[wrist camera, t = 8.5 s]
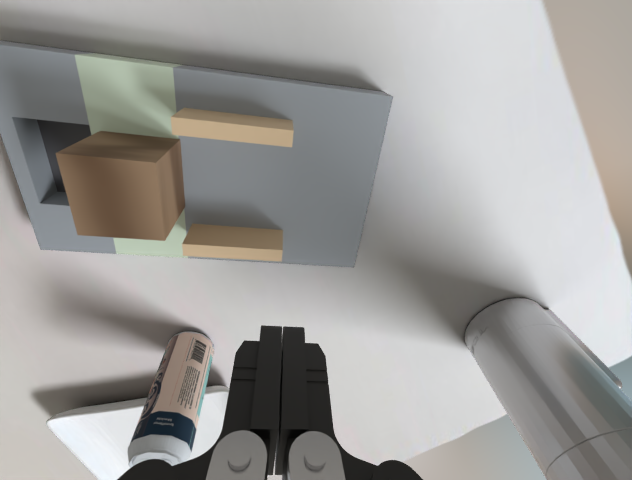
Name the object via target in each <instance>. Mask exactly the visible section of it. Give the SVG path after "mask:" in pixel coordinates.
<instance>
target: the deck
mask: <svg viewBox="0 0 632 480" xmlns="http://www.w3.org/2000/svg"><path fill="white" fill-rule="evenodd" d="M392 99H393V96H391V95H389V94H387V93H385V92H382V91H375V90H367V89H360V88H352V87H345V86H337V85H330V84H322V83H315V82H308V81H300V80H293V79H285V78H278V77H270V76H263V75H255V74H248V73H240V72H233V71H225V70H218V69H210V68H203V67H195V66H188V65H180V64H173V63H165V62H158V61H150V60H143V59H135V58H128V57H120V56H113V55H105V54H98V53H90V52H83V51H75V50H68V49H60V48H53V47H45V46H38V45H30V44H23V43H15V42H8V41H1V40H0V134H1V137H2V140H3V143H4V146H5V148H6V151H7V154H8V157H9V160H10V163H11V166H12V169H13V172H14V174H15V177H16V180H17V183H18V186H19V189H20V192H21V195H22V197H23V200H24V203H25V206H26V209H27V212H28V215H29V218H30V220H31V223H32V226H33V229H34V232H35V235H36V238H37V241H38V244H39V246H40V249H41V250H58V251H75V252H93V253H110V254H128V255H145V256H163V257H181V258H198V259H216V260H233V261H251V262H268V263H286V264H303V265H321V266H339V267H354V265H355V261H356V257H357V252H358V248H359V243H360V239H361V235H362V230H363V226H364V221H365V217H366V213H367V208H368V204H369V200H370V195H371V191H372V186H373V182H374V178H375V173H376V169H377V165H378V160H379V156H380V151H381V147H382V143H383V138H384V134H385V129H386V125H387V121H388V116H389V112H390V108H391V103H392ZM99 131H107V132H116V133H126V134H135V135H145V136H154V137H163V138H173V139H180V142H181V155H182V168H183V182H184V195H185V208H184V210H183V211H182V213H181V215H180V216H179V218H178V220H177V221H176V223H175V225H174V227H173V228H172V230H171V232H170V233H169V235H168V237H167V238H166V240H165V241H158V240H143V239H128V238H113V237H97V236H82V235H77V231H76V228H75V224H74V220H73V216H72V213H71V209H70V205H69V202H68V198H67V194H66V190H65V187H64V183H63V179H62V176H61V172H60V168H59V165H58V161H57V157H56V153H57V152H59V151H61V150H63V149H65V148H67V147H69V146H71V145H73V144H75V143H77V142H79V141H81V140H83V139H85V138H87V137H89V136H91V135H93V134H95V133H97V132H99Z"/></svg>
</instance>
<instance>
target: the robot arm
mask: <svg viewBox="0 0 632 480" xmlns="http://www.w3.org/2000/svg"><path fill="white" fill-rule="evenodd" d="M281 341H282V343H281ZM465 343H466V345H467V347H468V348H469V350H470V352H471V353H472V355H473V357H474V358H475V360H476V362H477V363H478V365H479V367H480V369H481V370H482V372H483V374H484V376H485V377H486V379H487V381H488V382H489V384H490V386H491V387H492V389H493V391H494V392H495V394H496V396H497V397H498V399H499V401H500V402H501V404H502V406H503V407H504V409H505V411H506V412H507V414H508V416H509V417H510V419H511V421H512V422H513V424H514V426H515V427H516V429H517V431H518V432H519V434H520V435H521V437H522V439H523V441H524V442H525V444H526V446H527V447H528V449H529V451H530V452H531V454H532V455H533V457H534V459H535V461H536V462H537V464H538V466H539V467H540V469H541V471H542V472H543V474H544V476H545V477H546V479H547V480H632V400H631V399H630V398H629V397H628V396H627V395H626V394H625V393H624V392H623V391H622V390H621V388H622V383H621V381H620V380H619V378H618V377H616V375H615V374H614V373H613V372H612V371H611V370H610V369H609V368H608V367H607V366H606V365H605V364H604V363H603V362H602V361H601V360H600V359H599V358H598V357H597V356H596V355H595V354H594V353H593V352H592V351H591V350H590V349H589V348H588V347H587V346H586V345H585V344H584V343H583V342H582V341H581V340H580V339H579V338H578V337H577V336H576V335H575V334H574V333H573V332H572V331H571V330H570V329H569V328H568V327H567V326H566V325H565V324H564V323H563V322H562V321H561V320H560V319H559V318H558V317H557V316H556V315H555V314H554V313H553V312H552V311H551V310H545V309H543V308H542V307H541V306H540V305H539V304H538V303H536V302H535V301H533V300H530V299H526V298H513V299H507V300H503V301H500V302H497V303H495V304H493V305H491V306H489V307H487V308H485V309H484V310H482V311H481V312H480V313H479V314H477V315H476V316H475V317H474V318H473V320H472V321H471V322H470V324H469V325H468V327H467V329H466V332H465ZM275 453H276V460H275ZM274 461H275V475H282V480H423V479H421V477H420V476H419V475H418V474H417V473H416V472H415V471H414V470H412V468H411V467H409V466H408V465H406V464H404V463H402V462H400V461H396V460H388V461H384V462H383V463H381V464H380V465H378V466H376V465H373V464H371V463H368V462H365V461H363V460H360V459H358V458H355V457H353V456H352V455H350V454H349V453H347V452H346V451H345V450H344V449H343V448H342V447H341V445H340V444H339V443H338V441H337V439H336V437H335V434H334V430H333V422H332V413H331V403H330V394H329V385H328V376H327V367H326V358H325V355H324V353H323V351H322V350H321V348H320V346H319V344H313V343H305V333H304V328H303V327H283V334H282V327H280V326H261V333H260V341H244V342H243V343H242V345H241V346H240V348H239V349H238V350H237V352H236V355H235V361H234V366H233V372H232V377H231V383H230V388H229V394H228V399H227V405H226V411H225V416H224V422H223V427H222V431H221V433H220V436H219V438H218V439H217V441H216V442H215V444H214V445H213V446H212V447H211V448H210V449H209V450H208V451H206V452H205V453H204V454H202V455H200V456H199V457H196V458H194V459H191V460H188V461H185V462H182V463H179V464H177V465H174V466H171V465H170V464H169V463H168V462H166V461H164V460H161V459H148V460H145V461H142V462H140V463H137V464H136V465H134V466H133V467H131V468H130V469H129V470H127V471H126V472H125V473H124V474H123V475H122V476H120V477H119V478H118V479H117V480H267V477H268V475H273V468H274Z"/></svg>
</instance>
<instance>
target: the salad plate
mask: <svg viewBox="0 0 632 480" xmlns="http://www.w3.org/2000/svg"><path fill="white" fill-rule="evenodd" d="M228 394H229V388H228V387H225V386H210V387H206V390H205V394H204V398H203V403H202V407H201V412H200V416H199V421H198V425H197V430H196V434H195V439H194V443H193V448H192V452H191V455H190V457H189V459H188V460H191V459H194V458H196V457H199V456H200V455H202V454H204V453H205V452H206V451H208V450H209V449H210V448H211V447H212V446H213V445H214V444H215V442H216V441H217V439H218V438H219V436H220V433H221V431H222V427H223V422H224V416H225V411H226V405H227V399H228ZM147 398H148V397H146V398H141V399H135V400H128V401H122V402H115V403H108V404H101V405H94V406H87V407H81V408H76V409H72V410H68V411H65V412H61V413H59V414H57V415H54V416H53V417H51V418H50V419H48V420H47V421H46V425H47V427H48V428H49V429H50V430H51V431H52V432H53V433H54V435H55V436H56V437H57V438H58V439H59V440H60V441H61V442H62V443H63V444H64V445H65V446H66V447H67V448H68V449H69V450H70V451H71V452H72V453H73V454H74V455H75V456H76V457H77V458H78V459H79V461H80V462H81V463H82V464H83V465H84V466H85V467H86V468H87V469H88V470H89V471H90V472H91V473H92V474H93V475H94V476H95V477H96V478H97V479H98V480H117V479H118V478H119V477H120V476H122V475H123V474H124V473H125V472H126V471H127V470H129V469H130V467H129V465H128V463H129V461H128V453H127V451H128V446H129V445H130V442H131V440H132V437H133V434H134V432H135V429H136V426H137V424H138V421H139V419H140V416H141V413H142V411H143V408H144V405H145V403H146V400H147ZM188 460H187V461H188ZM268 477H269V475H268ZM268 477H267V479H268Z"/></svg>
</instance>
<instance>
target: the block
mask: <svg viewBox="0 0 632 480" xmlns="http://www.w3.org/2000/svg"><path fill="white" fill-rule="evenodd" d="M56 157H57V161H58V165H59V168H60V172H61V176H62V179H63V183H64V187H65V190H66V194H67V198H68V202H69V205H70V209H71V213H72V216H73V220H74V224H75V228H76V231H77V235H82V236H97V237H113V238H128V239H143V240H158V241H165V240H166V238H167V237H168V235H169V233H170V232H171V230H172V228H173V227H174V225H175V223H176V221H177V220H178V218H179V216H180V215H181V213H182V211H183V210H184V208H185V195H184V182H183V168H182V155H181V142H180V139H173V138H163V137H154V136H145V135H135V134H126V133H116V132H107V131H99V132H97V133H95V134H93V135H91V136H89V137H87V138H85V139H83V140H81V141H79V142H77V143H75V144H73V145H71V146H69V147H67V148H65V149H63V150H61V151H59V152H57V153H56Z"/></svg>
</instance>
